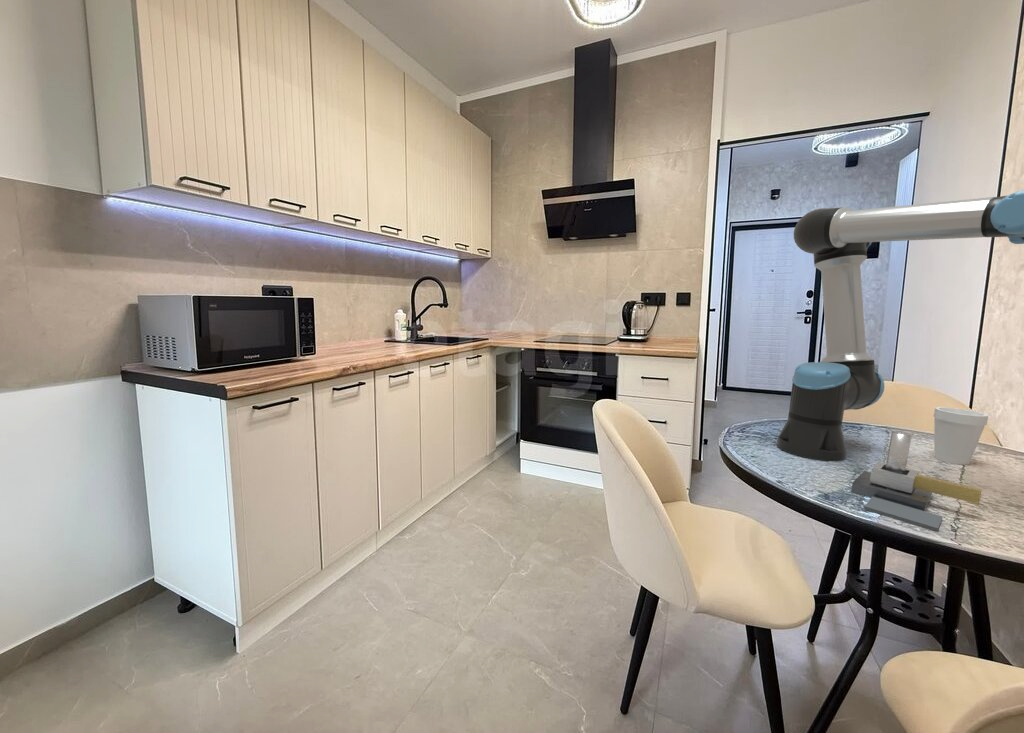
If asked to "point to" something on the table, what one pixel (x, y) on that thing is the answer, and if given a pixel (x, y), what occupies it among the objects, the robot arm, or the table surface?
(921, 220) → the robot arm
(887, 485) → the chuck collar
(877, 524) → the table surface
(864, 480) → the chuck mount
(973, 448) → the grey rounded piece
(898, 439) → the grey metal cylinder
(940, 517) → the pad
